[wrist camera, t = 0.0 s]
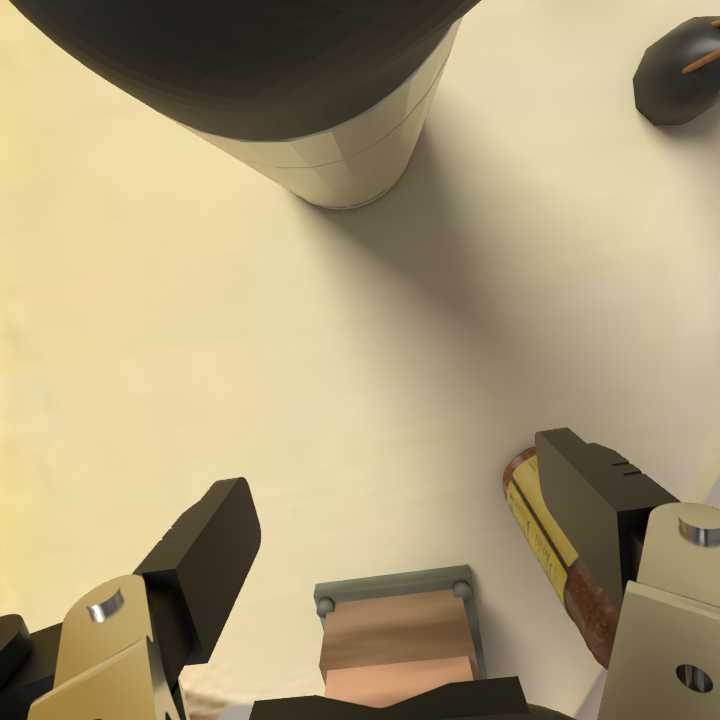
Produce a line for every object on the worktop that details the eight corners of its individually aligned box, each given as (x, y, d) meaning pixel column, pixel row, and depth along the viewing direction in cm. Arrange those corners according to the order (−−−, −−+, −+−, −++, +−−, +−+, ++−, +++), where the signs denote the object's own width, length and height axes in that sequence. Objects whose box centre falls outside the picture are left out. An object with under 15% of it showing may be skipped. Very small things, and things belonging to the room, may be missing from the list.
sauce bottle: (556, 522, 31) (845, 973, 12) (484, 494, 30) (662, 917, 11) (601, 453, 29) (1030, 858, 10) (525, 424, 28) (820, 786, 9)
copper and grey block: (315, 584, 34) (290, 723, 24) (467, 565, 32) (506, 704, 22) (347, 691, 37) (336, 851, 27) (485, 678, 36) (525, 841, 26)
